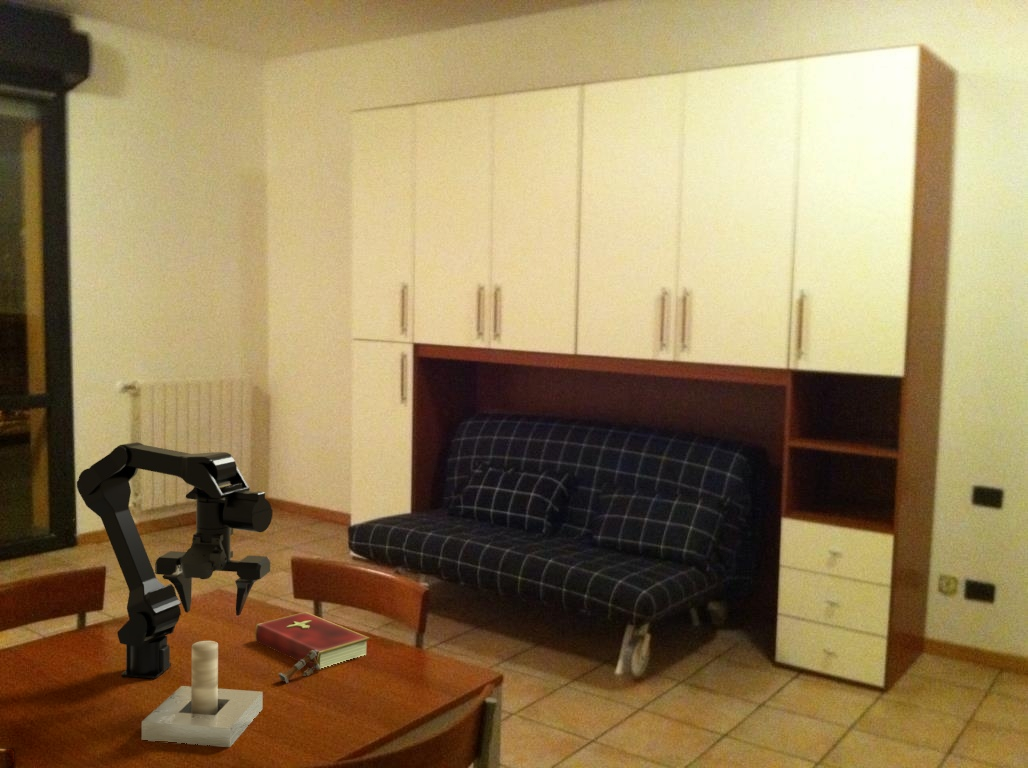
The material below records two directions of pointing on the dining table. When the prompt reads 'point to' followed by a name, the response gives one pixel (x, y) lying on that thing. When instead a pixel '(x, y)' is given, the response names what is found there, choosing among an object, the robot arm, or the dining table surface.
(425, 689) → the dining table surface
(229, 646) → the dining table surface
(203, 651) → the ball
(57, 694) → the dining table surface
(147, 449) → the robot arm
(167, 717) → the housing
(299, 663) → the wooden post with brackets
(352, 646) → the hardcover book
